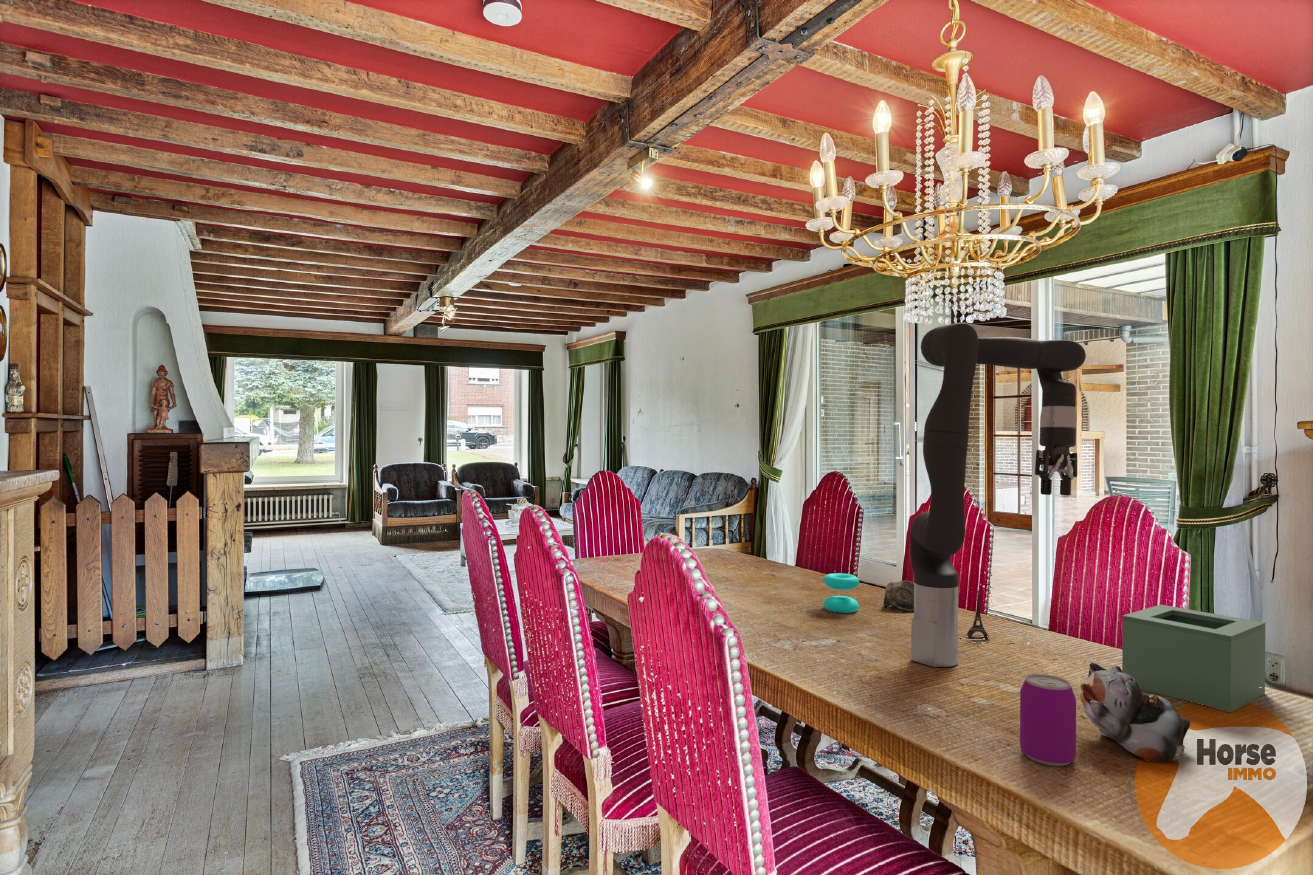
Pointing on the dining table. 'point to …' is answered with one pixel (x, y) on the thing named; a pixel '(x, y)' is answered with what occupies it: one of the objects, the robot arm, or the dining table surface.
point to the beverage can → (1048, 720)
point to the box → (1195, 656)
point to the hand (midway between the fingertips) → (1055, 495)
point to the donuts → (841, 602)
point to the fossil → (900, 596)
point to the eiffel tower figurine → (977, 627)
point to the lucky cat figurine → (1133, 715)
